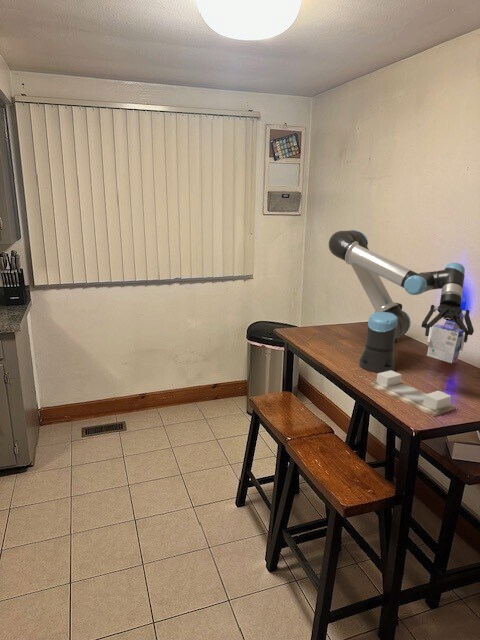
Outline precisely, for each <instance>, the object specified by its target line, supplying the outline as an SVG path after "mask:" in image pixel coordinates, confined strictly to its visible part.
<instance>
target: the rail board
mask: <svg viewBox="0 0 480 640" xmlns="http://www.w3.org/2000/svg"><path fill="white" fill-rule="evenodd" d="M376 381H377V379H376V380H373V382H371V383H370V384H369V385H370V387H371V388H374V389H377V390H378V391H380V392H383V393H385V394H387V395H389V396H391V397H393V398H395V399H397V400H399V401H401V402H403V403H406V404H407V405H409V406H411V407H414V408H416V409H418V410H419V411H421V412H424V413H426V414H428V415H429V416H432V417H437V416H439V415H442V414H443V415H444V414H445V413H448V412H450V411H453V410H456V406H455V405H453V404H451V403H450V405H448V406H446V407H443V408H440V409H437V410H435V409H433V408H431V407H429V406H427V405H424V404H423V402H424V396H425V395H426V394H427V393H426V392H424V391H422V390H419V389H416V388H415V387H412V386H410V385H407V384H405V383H403V382H402V381H401V382H400V383H398V384H395V385H391V386H387V387H386V386H384V385H382V384H380V383H378V382H376Z"/></svg>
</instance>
